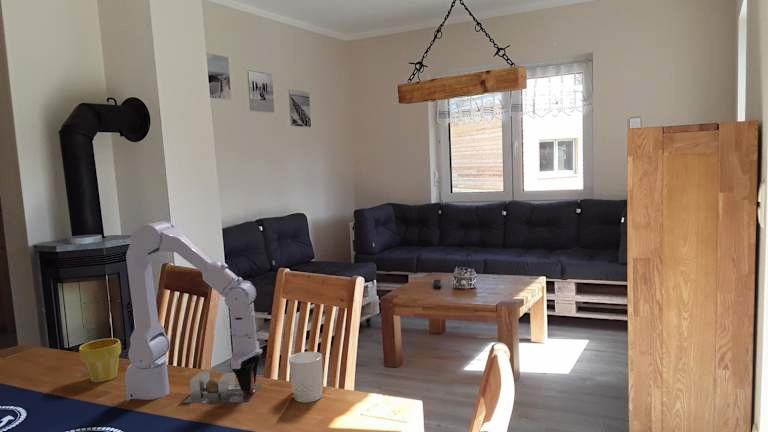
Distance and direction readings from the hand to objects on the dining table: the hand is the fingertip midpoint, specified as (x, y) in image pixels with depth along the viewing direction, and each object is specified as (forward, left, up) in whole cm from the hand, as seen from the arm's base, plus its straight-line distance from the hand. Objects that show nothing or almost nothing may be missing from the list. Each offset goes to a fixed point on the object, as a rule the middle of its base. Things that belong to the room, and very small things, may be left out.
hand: (248, 387), depth 147 cm
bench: (-6, 0, -3) cm, 7 cm away
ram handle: (-3, 0, -1) cm, 3 cm away
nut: (-9, 0, -1) cm, 9 cm away
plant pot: (-46, +14, -3) cm, 48 cm away
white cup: (+15, 0, -3) cm, 15 cm away
